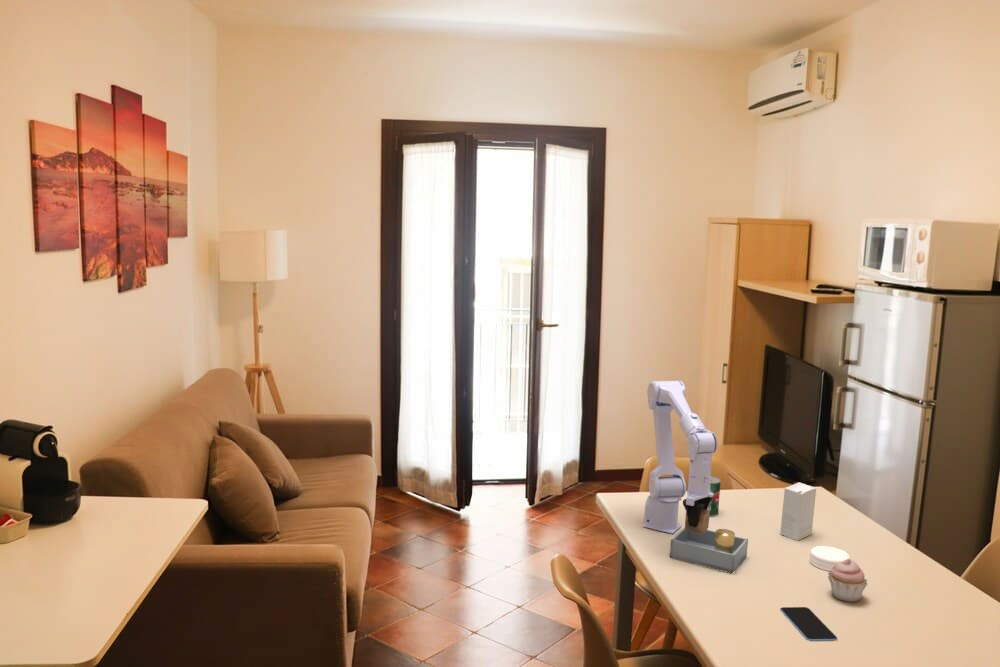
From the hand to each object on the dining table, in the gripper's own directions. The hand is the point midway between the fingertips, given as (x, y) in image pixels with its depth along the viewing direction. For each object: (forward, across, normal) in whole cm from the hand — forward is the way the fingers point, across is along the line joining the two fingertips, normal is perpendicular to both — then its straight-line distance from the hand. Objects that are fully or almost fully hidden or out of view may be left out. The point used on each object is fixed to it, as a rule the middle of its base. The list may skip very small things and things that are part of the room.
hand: (696, 523), depth 220 cm
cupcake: (+9, -3, -40) cm, 41 cm away
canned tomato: (+9, +33, +8) cm, 35 cm away
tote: (+9, 0, -4) cm, 10 cm away
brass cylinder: (+8, 0, -8) cm, 11 cm away
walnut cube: (+2, 0, 0) cm, 2 cm away
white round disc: (+9, +15, -32) cm, 37 cm away
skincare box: (+9, +31, -20) cm, 38 cm away
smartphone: (+9, -23, -34) cm, 42 cm away
